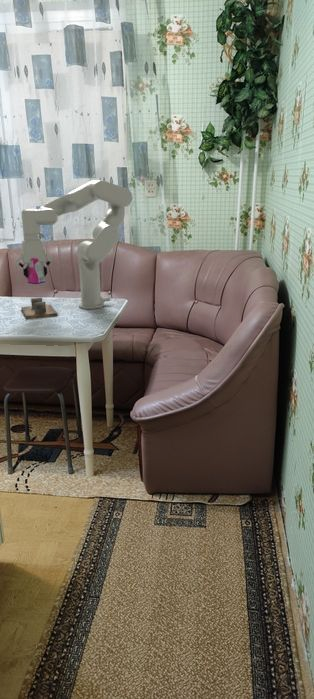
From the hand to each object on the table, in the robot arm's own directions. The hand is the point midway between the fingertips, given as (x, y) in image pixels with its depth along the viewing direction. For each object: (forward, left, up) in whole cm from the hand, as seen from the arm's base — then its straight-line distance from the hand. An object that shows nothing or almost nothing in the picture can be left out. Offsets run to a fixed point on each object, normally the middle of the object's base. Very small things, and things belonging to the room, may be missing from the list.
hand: (35, 276), depth 235 cm
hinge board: (0, 0, -18) cm, 18 cm away
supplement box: (0, 0, -3) cm, 3 cm away
